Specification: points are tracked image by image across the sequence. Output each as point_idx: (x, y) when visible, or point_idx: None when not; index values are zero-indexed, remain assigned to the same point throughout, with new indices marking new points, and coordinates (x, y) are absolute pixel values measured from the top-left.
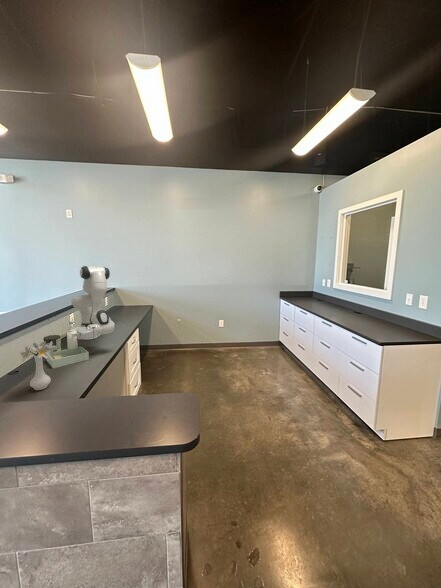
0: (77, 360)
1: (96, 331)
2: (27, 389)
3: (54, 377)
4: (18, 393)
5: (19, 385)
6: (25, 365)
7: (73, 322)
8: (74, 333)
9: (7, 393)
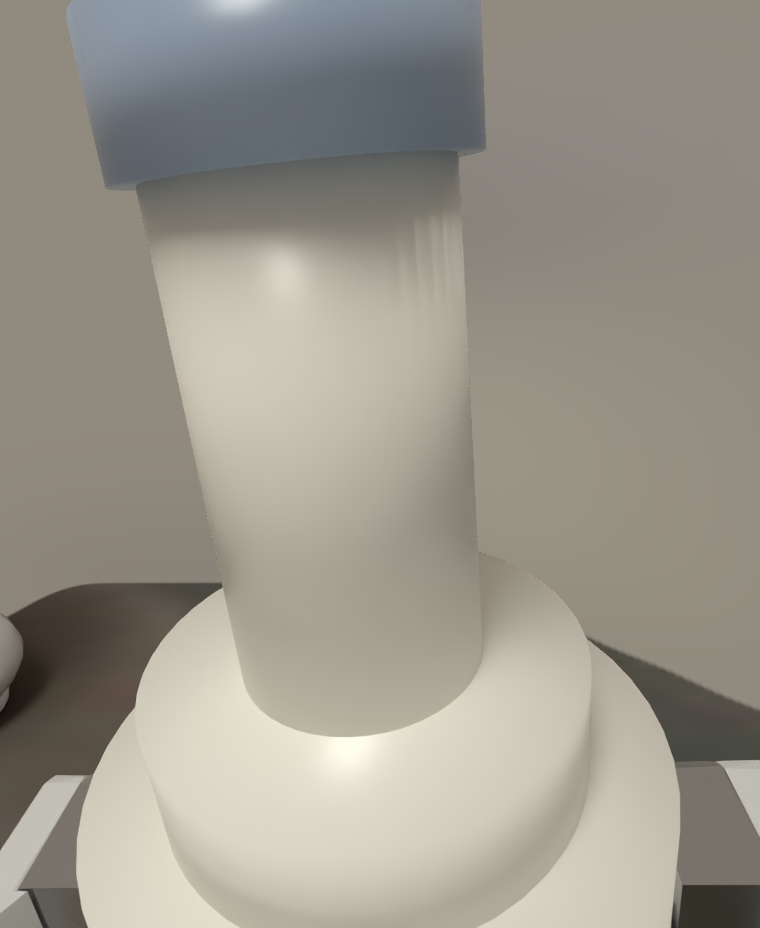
0: None
1: None
2: (42, 655)
3: (9, 835)
4: (48, 620)
5: (169, 628)
6: (632, 678)
7: (115, 93)
8: None
9: (120, 588)
